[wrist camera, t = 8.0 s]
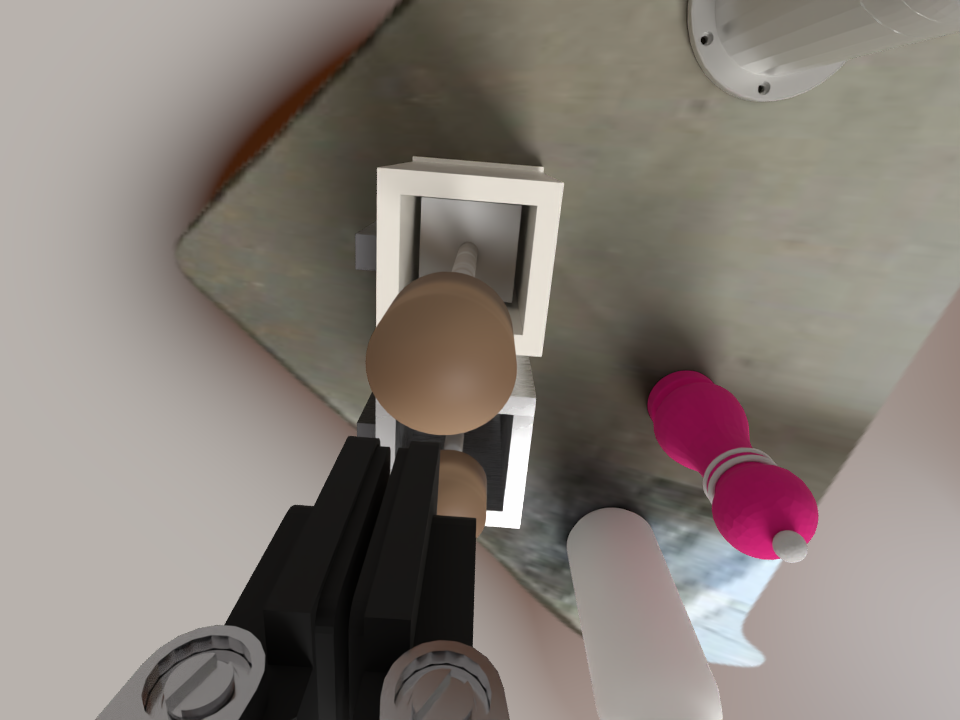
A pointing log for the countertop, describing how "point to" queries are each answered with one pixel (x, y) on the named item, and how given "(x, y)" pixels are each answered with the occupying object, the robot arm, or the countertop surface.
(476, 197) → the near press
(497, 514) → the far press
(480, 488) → the far plunger
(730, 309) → the countertop surface
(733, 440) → the pepper mill
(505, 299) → the near plunger
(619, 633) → the alcohol
